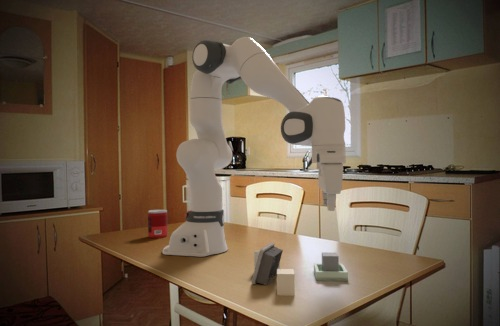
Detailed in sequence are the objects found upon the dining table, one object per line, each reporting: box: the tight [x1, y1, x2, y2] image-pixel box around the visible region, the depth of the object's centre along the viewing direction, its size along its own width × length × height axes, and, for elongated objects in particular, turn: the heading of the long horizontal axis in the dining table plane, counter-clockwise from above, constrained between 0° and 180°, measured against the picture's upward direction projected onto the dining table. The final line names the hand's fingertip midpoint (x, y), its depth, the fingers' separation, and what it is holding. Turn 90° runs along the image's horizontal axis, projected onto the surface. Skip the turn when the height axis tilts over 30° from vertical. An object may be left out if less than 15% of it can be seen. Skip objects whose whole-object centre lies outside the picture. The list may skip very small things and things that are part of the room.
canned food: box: [147, 209, 168, 239], centre depth 157 cm, size 8×8×11 cm
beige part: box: [276, 268, 296, 297], centre depth 88 cm, size 4×4×5 cm
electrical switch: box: [251, 242, 284, 286], centre depth 97 cm, size 9×5×9 cm, turn 158°
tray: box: [313, 263, 349, 282], centre depth 100 cm, size 8×8×2 cm
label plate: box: [253, 250, 281, 269], centre depth 104 cm, size 7×1×6 cm, turn 85°
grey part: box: [321, 251, 340, 271], centre depth 100 cm, size 4×4×5 cm
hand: (328, 208), depth 100 cm, fingers open, 8 cm apart
